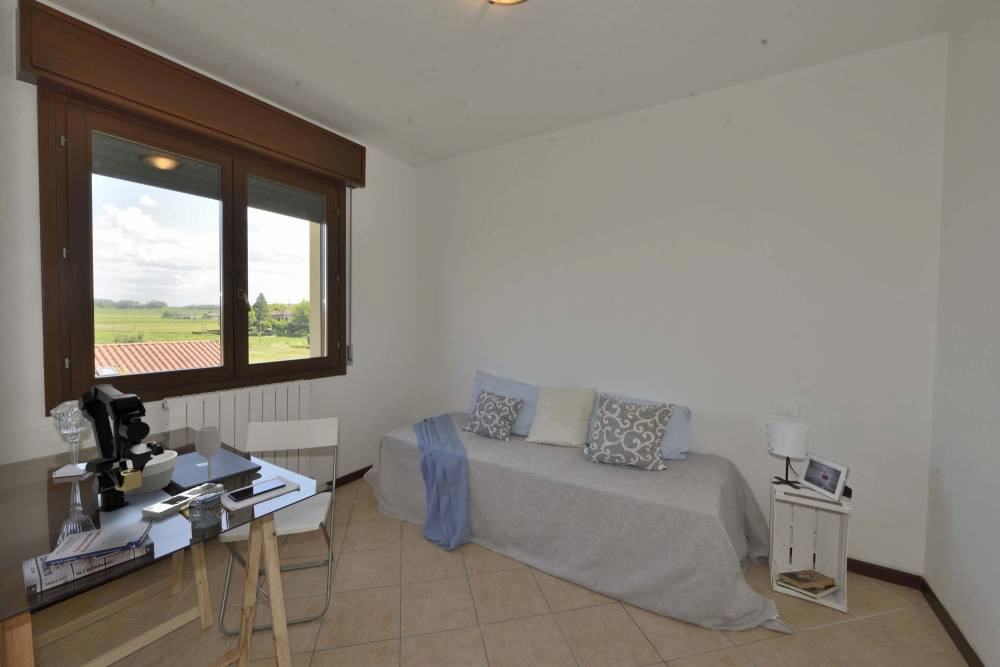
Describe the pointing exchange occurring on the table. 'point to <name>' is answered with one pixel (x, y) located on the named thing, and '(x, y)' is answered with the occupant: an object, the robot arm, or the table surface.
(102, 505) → the robot arm
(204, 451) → the wineglass
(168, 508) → the rail
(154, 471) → the bowl
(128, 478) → the nut block
